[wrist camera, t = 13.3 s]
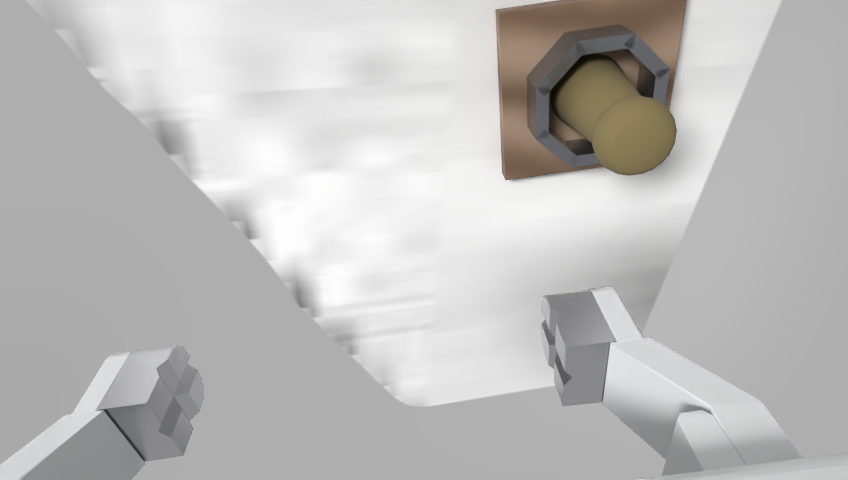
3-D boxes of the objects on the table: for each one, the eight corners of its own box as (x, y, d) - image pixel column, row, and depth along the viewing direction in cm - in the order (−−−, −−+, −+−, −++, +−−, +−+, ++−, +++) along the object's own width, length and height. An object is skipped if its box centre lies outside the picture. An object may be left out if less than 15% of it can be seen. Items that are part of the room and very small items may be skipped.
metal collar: (526, 37, 38) (535, 47, 36) (658, 18, 38) (676, 26, 35) (527, 157, 44) (535, 172, 41) (641, 140, 44) (657, 155, 41)
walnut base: (495, 9, 38) (499, 13, 37) (678, -18, 38) (688, -15, 37) (502, 172, 46) (505, 180, 45) (653, 151, 46) (661, 158, 45)
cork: (638, 67, 40) (712, 118, 31) (600, 135, 43) (656, 199, 34) (573, 42, 39) (629, 87, 29) (537, 114, 42) (579, 175, 33)
